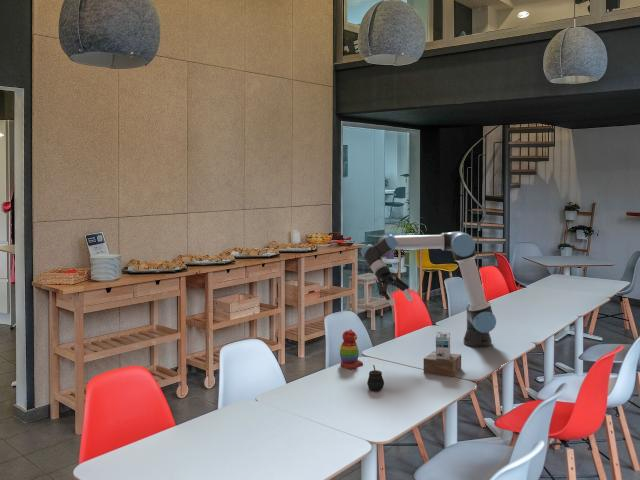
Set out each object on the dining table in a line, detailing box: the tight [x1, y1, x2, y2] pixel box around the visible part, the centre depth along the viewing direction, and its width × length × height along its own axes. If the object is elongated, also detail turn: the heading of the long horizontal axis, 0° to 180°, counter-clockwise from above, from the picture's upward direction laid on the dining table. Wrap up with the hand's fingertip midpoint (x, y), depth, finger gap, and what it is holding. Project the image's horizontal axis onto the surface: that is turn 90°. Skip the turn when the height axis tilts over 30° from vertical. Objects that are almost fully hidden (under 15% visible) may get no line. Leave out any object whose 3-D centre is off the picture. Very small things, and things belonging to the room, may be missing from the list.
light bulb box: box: [435, 331, 451, 360], centre depth 290 cm, size 11×7×11 cm, turn 168°
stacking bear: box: [339, 328, 364, 370], centre depth 302 cm, size 11×10×18 cm
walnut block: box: [423, 350, 462, 378], centre depth 291 cm, size 14×14×7 cm
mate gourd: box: [366, 364, 385, 392], centre depth 267 cm, size 7×8×10 cm
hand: (402, 302), depth 308 cm, fingers open, 13 cm apart
